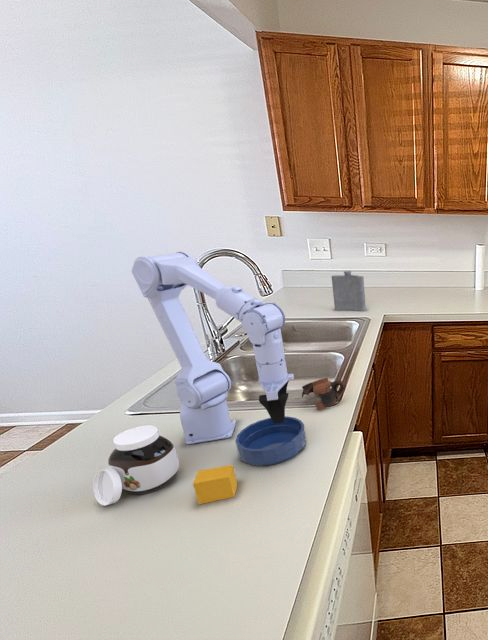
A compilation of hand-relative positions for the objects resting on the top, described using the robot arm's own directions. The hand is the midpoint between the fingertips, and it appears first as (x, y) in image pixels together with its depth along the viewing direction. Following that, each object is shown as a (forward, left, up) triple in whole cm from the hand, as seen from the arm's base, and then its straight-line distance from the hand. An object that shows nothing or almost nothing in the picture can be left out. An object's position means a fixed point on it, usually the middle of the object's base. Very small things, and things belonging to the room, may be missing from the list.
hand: (279, 413), depth 91 cm
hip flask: (+25, +118, -9) cm, 121 cm away
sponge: (-11, -13, -9) cm, 19 cm away
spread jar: (-26, -6, -9) cm, 29 cm away
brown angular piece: (+10, +20, -9) cm, 24 cm away
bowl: (-2, 0, -9) cm, 10 cm away
